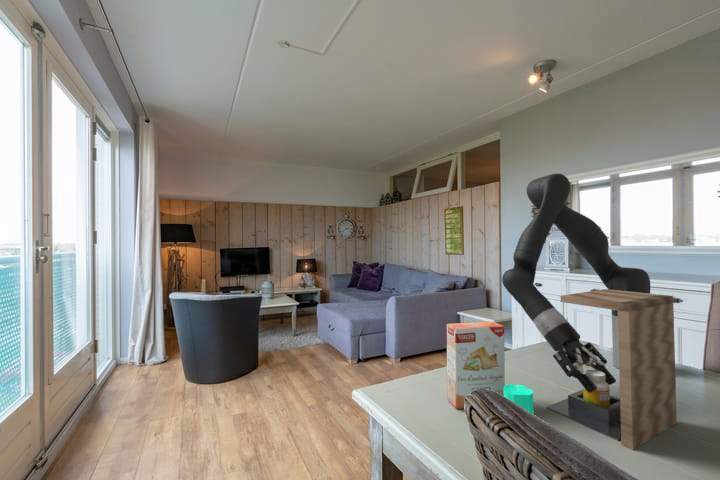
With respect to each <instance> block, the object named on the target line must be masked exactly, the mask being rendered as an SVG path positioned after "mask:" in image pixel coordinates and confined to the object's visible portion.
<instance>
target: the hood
mask: <svg viewBox="0 0 720 480" xmlns="http://www.w3.org/2000/svg"><path fill="white" fill-rule="evenodd" d="M559 297H560V302H561V303H564V304H565V303H566V304H573V305H578V306H586V307H592V308H599V309H606V310H611V311H612V310H618V339H619V368H618V369H619V370H618V371H619V373H618V375H619V398H620V412H621V440H620V441H621V442H620V443H621V444H620V445H621V446H623V447H626V448H628V449H630V450H631V451H634V450H635V449H637V448H638V447H641V445H644V444H645V443H647V442H649V441H650V440H652V439H654V438H655V437H657V436H659V435H660V434H662V433H664V432H666V431H667V430H668V429H670V428H672V427H673V426H676V425H677V423H678V419H677V418H678V417H677V414H678V413H677V385H676V383H677V380H676V354H675V353H676V350H675V348H676V347H675V344H676V343H675V319H674V317H675V315H674V311H675V310H674V295H667V294H666V295H665V294H659V293H658V294H657V293H650V294H649V293H639V292H629V291H620V290H610V289H608V288H604V289H598V290H591V291H584V292H577V293H570V294H564V295H560V296H559Z"/></svg>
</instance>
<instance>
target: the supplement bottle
mask: <svg viewBox="0 0 720 480" xmlns="http://www.w3.org/2000/svg"><path fill="white" fill-rule="evenodd" d="M585 374H586V375H587V376H588V377H589V379H590V380H591V381H592V382H593V383H594V385H595V386H596V387H597V389H596V390H594V391H593V392H590V393H589V392H588V391H587V390H586V389H585V388H584V387H583V386H582V390H583V399H585V400H587V401H590V402H592V403H595V404H598V405H600V406H603V407H607V406H610V395H611V389H610V385H608V383H606V382H605V380H606V376H605V373H603V372H601V371H598V370H595V369H587V370H585Z"/></svg>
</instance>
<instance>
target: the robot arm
mask: <svg viewBox="0 0 720 480" xmlns="http://www.w3.org/2000/svg"><path fill="white" fill-rule="evenodd" d="M570 192H571V182H570V180H569V178H568V177H567V176H566V175H564V174H563V173H552V174H547V175H544V176H541V177H538V178H535V179H533V180H531V181H530V182H529V183H528V184H527V187H526V195H527V198H528V200H529V201H530V202H531V203H532V205H534V206H535V208H537V210H538V211H537V213H536V214H535V216H534V217H533V218H532V220H531V221H530V222H529V223H528V225H527V226H526V227H525V229H524V230H522V231H523V232H522V233H521V235H520V237H519V238H518V240H517V244H516V247H515V250H514V252H513V257H512V258H513V262H514V263H513V268H509V269H507V270H505V272H504V273H503V275H502V279H501V281H502V285H503V287H504V289H506V291H507V292H508V293H509V295H511V296H512V297H513V298H514V300H515V301H516V302H517V303H518V304H519V305H520V306H521V308H522V310H523V311H524V312H525V314H526V315H527V316H528V318H529V319H530V320H531V321H532V322H533V324H534V326H535V327H536V328H537V330H538V332H539V333H540V334H541V336H542V337H543V338H544V340H545V341H546V342H547V343H548V345H549V346H550V347H551V348H552V349H553V350H554V352H555V353H554V354H553V355H552V357H553V358H554V360H555V361H556V362H557V364H558V365H559V367H560V368H561V370H563V372H564V373H565V375H566V377H568V378H571V377H573V378H574V379H576V380H578V382H579V383H580V384H581V385H582V388H583V387H584V388H585V389H586V390H587V391H588V392H589V393H590V392H593V391H594V390H596V389H597V387H596V386H595V385H594V383H593V382H592V381H591V380H590V379H589V377H588V376H587V375H586V373H585V371H584V368H583V366H586V367H590V368H592V369H593V370H598V371H601V372H603V373H605V376H606V380H605V382H606V383H608V385H609V386H611V385H613V384H615V383H616V382H617V379H616V378H615V377H614V375H612V373H611V372H610V371H609V370H608V369H607V368H606V364H608V360H607V359H606V358H605V357H604V356H603V354H601V353H600V352H599V351H598V349H597V348H596V347H595V346H594V345H593V344H592V343H591V342H590V341H589V342H587V343H585V344H583V343H582V342H580V339H581V335H580V334H579V333H578V331H577V330H576V329H575V328H574V327H573V326H572V324H571V323H570V322H569V321H568V320H567V319H566V318H565V316H564V315H563V314H562V313H561V312H560V311H559V310H557V308H556V307H555V306H554V305H553V304H552V303H551V302H550V300H548V298H547V297H546V296H545V295H543V294H542V292H540V291H539V289H538V288H537V287H536V286H535V284H534V283H535V282H534V281H535V278H536V273H537V267H538V266H537V265H538V262H539V260H540V258H541V254H542V251H543V249H544V246H545V242H546V240H547V237H548V236H549V233H550V232H551V229H552V228H553V225H554V226H556V228H557V229H558V230H560V232H561V233H562V234H563V235H564V237H566V239H567V240H568V241H569V243H570V244H571V245H572V246H573V247H574V248H575V250H576V251H577V252H579V254H580V255H581V256H583V258H584V259H585V261H586V262H587V263H588V264H589V265H590V266H591V268H592V269H593V270H594V272H595V273H596V275H597V276H598V277H599V279H600V281H601V282H602V284H603V285H604V286H605V287H606V289H610V290H620V291H629V292H639V293H649V294H651V279H650V276H649V273H648V272H647V271H646V270H645V269H641V268H636V267H625V266H623V267H622V266H620V265H619V264H617V262H615V261H614V260H613V259H612V257H611V256H610V253H609V248H610V247H609V245H610V244H609V238H608V236H607V235H606V233H605V232H604V231H603V230H602V228H601V227H600V226H599V225H598V224H597V223H596V222H595V221H593V220H592V219H591V218H589V217H587V216H586V215H584V214H582V213H579V212H578V211H576V210H574V209H572V208H571V207H569V206H567V205H566V204H565V203H566V201H567V200H568V198H569V195H570ZM611 335H612V365H613V367H614V368H617V369H619V339H618V310H611Z"/></svg>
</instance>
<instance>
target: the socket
mask: <svg viewBox="0 0 720 480" xmlns="http://www.w3.org/2000/svg"><path fill="white" fill-rule="evenodd" d="M545 408H546V409H547V410H549V411H552V412H554V413H556V414H558V415H560V416H562V417H565V418H567V419H569V420H571V421H574V422H576V423H578V424H581V425H583V426H584V427H588V428H590V429H591V430H593V431H595V432H598V433H600V434H602V435H604V436H607V437H609V438H611V439H613V440H615V441H618V442H620V441H621V412H620V397H616V396H614V395H611V394H610V406H607V407H603V406H600V405H598V404H595V403H592V402H590V401H587V400H585V399H583V389H581V390H578V391H575V392H573V393H569V394H568V395H567V398H565V399H563V400H560V401H558V402H555V403H552V404H550V405H547V406H546V407H545Z"/></svg>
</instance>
